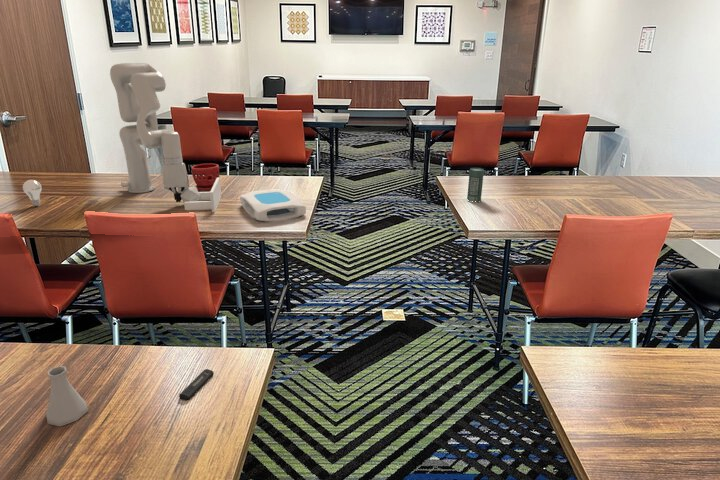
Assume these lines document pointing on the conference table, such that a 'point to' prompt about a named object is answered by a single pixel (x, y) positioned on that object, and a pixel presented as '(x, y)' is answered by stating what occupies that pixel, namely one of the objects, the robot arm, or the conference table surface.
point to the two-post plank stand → (204, 205)
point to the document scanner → (272, 204)
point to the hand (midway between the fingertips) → (178, 201)
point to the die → (190, 195)
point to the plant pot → (205, 176)
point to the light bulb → (33, 191)
